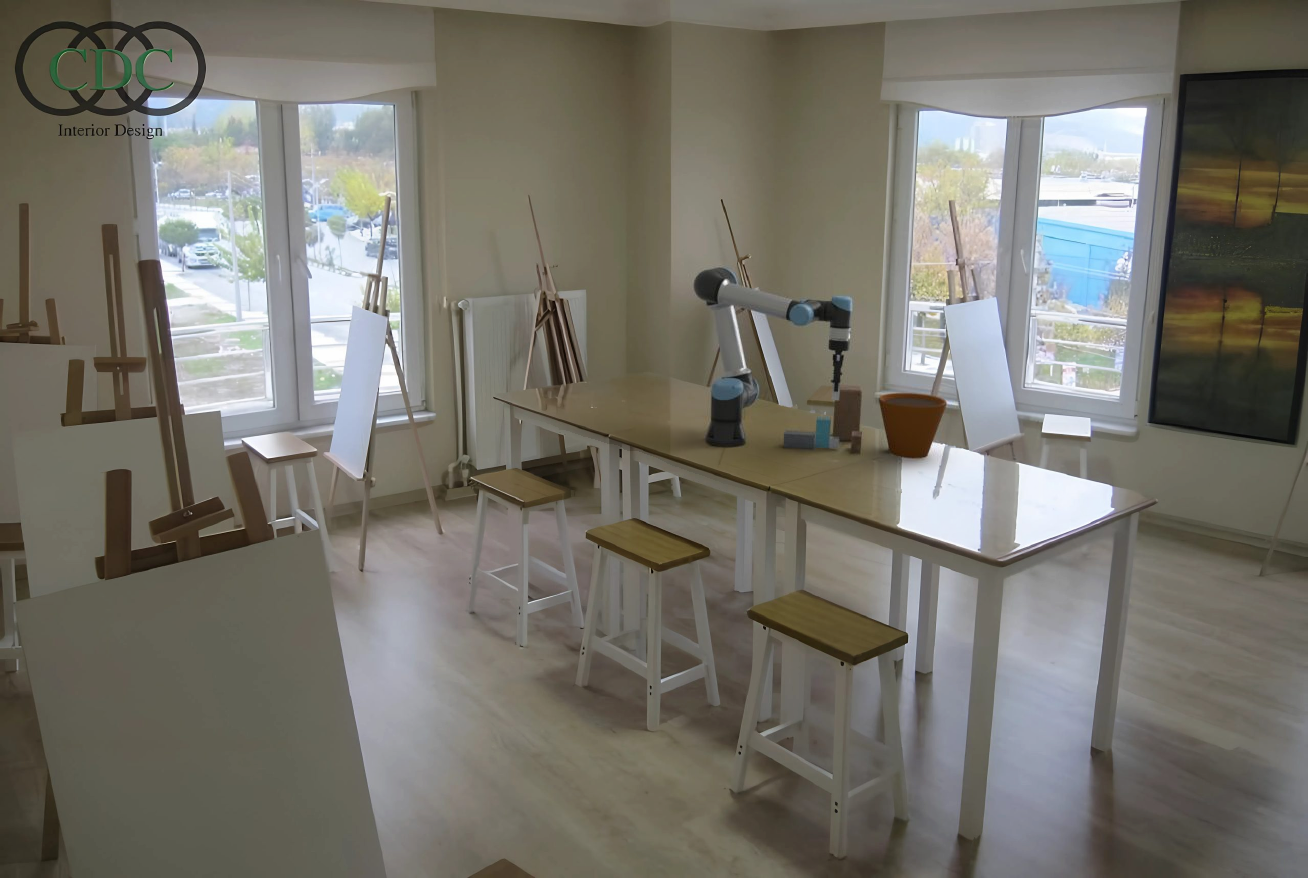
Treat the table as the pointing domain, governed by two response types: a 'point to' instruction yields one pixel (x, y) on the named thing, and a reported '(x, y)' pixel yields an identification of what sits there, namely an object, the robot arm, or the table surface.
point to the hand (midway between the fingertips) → (835, 396)
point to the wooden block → (847, 412)
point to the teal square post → (824, 434)
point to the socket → (856, 442)
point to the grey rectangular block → (799, 439)
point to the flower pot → (911, 422)
